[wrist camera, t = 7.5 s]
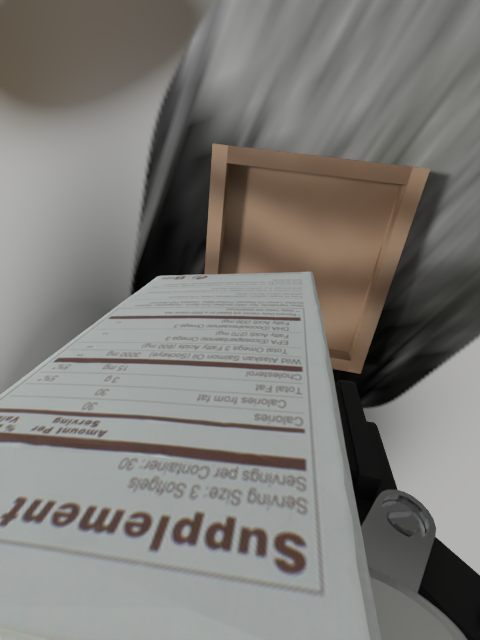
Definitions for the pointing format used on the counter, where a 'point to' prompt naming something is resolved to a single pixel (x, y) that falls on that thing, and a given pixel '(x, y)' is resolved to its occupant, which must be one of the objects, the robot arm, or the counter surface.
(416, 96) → the counter surface
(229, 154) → the walnut tray
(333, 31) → the counter surface
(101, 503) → the supplement box
